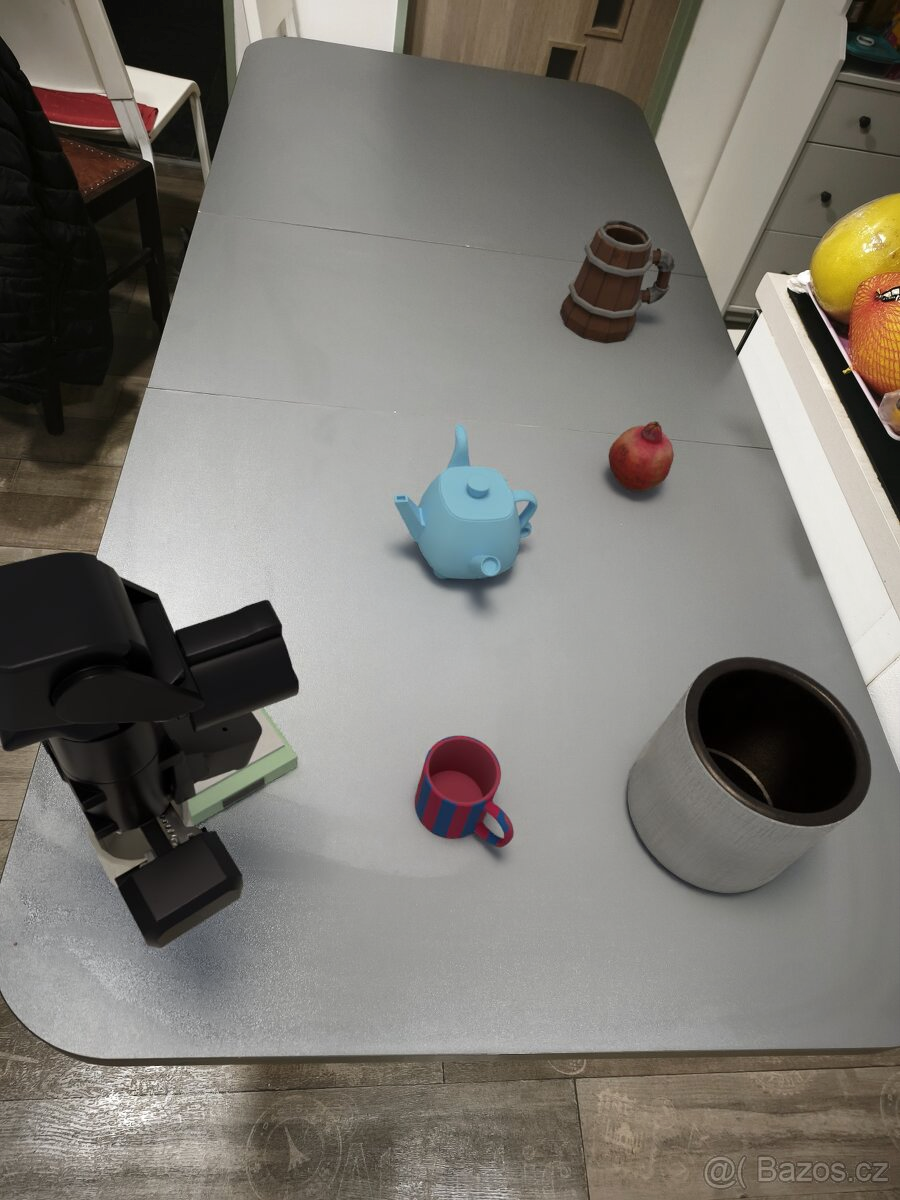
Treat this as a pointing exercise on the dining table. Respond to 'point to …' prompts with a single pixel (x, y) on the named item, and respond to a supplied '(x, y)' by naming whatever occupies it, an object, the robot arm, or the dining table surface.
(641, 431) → the fruit
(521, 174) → the dining table surface
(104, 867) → the ramekin
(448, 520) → the teapot
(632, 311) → the mug
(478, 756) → the cup
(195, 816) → the scale
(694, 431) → the dining table surface
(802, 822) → the planter
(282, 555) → the dining table surface
